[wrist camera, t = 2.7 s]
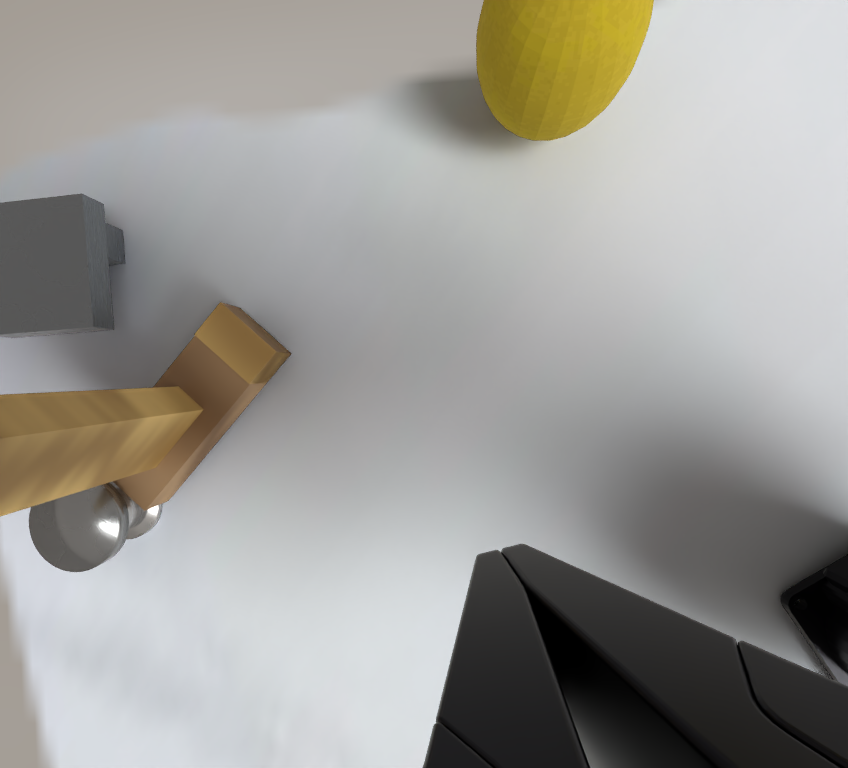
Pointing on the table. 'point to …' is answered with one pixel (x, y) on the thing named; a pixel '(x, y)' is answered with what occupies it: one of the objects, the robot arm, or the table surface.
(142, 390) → the link
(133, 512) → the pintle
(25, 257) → the block
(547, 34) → the lemon
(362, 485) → the table surface
